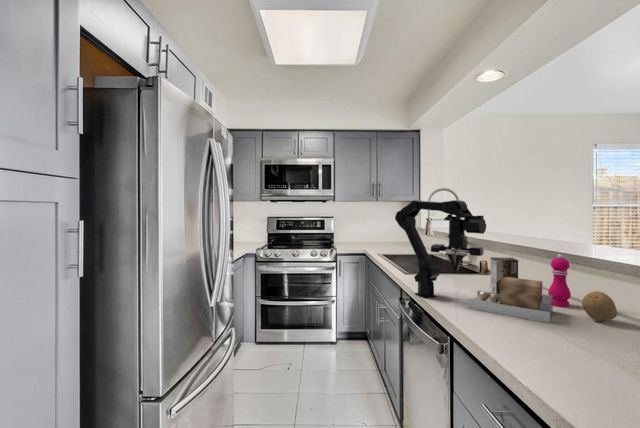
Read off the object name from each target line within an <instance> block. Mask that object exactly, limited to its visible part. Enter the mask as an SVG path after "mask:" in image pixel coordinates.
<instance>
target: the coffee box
mask: <svg viewBox="0 0 640 428" xmlns="http://www.w3.org/2000/svg"><path fill="white" fill-rule="evenodd" d="M505 277H511V278H519V260H518V259H516V258H514V257H492V256H491V257H490V291H489V292H491V293H498V294H500V282H501V281H502V280H503V279H504V278H505Z"/></svg>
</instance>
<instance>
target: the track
mask: <svg viewBox="0 0 640 428" xmlns="http://www.w3.org/2000/svg"><path fill="white" fill-rule="evenodd" d="M476 294H477V295H476V297H475V298H469V297H468V298H467V309H469V310H475V311H480V312H486V313H490V314H497V315H502V316H508V317H512V318H513V317H514V318H517V319H518V318H519V319H525V320H529V321H530V320H531V321H536V322H542V323H546V324H550V323H551V319H552V316H553V310H554V307H553V296H552V295H549V294H543V293H542V298H541V301H540V309H539V310H537V309H531V308H525V307H519V306H513V305H507V304H500V294H498V293H491V292H490V291H481V290H477V291H476Z"/></svg>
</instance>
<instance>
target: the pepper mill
mask: <svg viewBox="0 0 640 428" xmlns="http://www.w3.org/2000/svg"><path fill="white" fill-rule="evenodd" d="M563 257H564V256H563V254H562V253H558V254H557V257H556V258H553V259H552V260H551V261H550V266H551V268H552V272H551V274H552V275H553V280H552V283H551V285H550V286H549V288H548V292H547V295H552V296H553V306H554V307H558V308H568V307H569V306H570V301H569V299H571V297H572V294H571V291H570V288H569V286H568V284H567V283H568V282H567V276H568V270H569V269H570V262H569V261H568V260H567V259H566V258H563Z"/></svg>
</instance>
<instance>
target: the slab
mask: <svg viewBox="0 0 640 428" xmlns="http://www.w3.org/2000/svg"><path fill="white" fill-rule="evenodd" d="M542 296H543V281H542V280H535V279H527V278H519V277H518V278H511V277H505V278H504V279H503V280H502V281H501V282H500V304H507V305H513V306H519V307H525V308H531V309H537V310H539V309H540V301H541V298H542Z"/></svg>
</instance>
